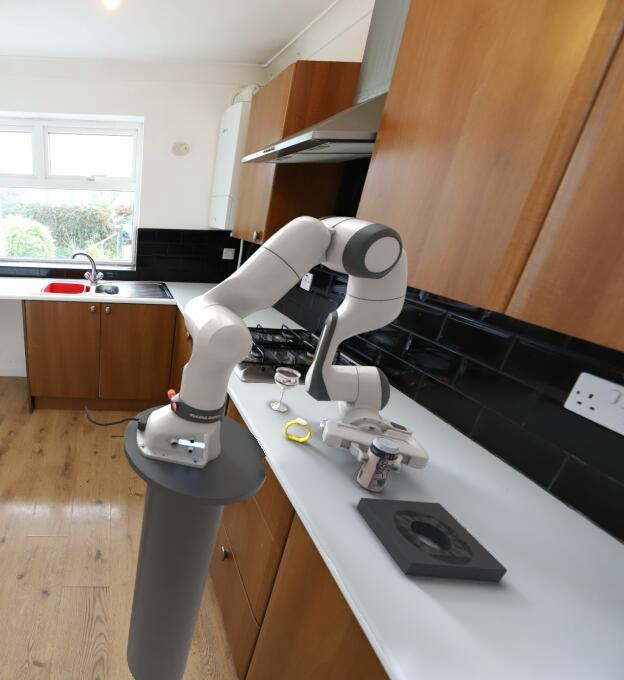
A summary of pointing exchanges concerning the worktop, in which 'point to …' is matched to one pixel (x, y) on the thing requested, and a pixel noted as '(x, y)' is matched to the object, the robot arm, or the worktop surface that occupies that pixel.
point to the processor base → (439, 525)
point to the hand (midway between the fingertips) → (380, 464)
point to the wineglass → (285, 384)
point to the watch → (301, 423)
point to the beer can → (378, 463)
